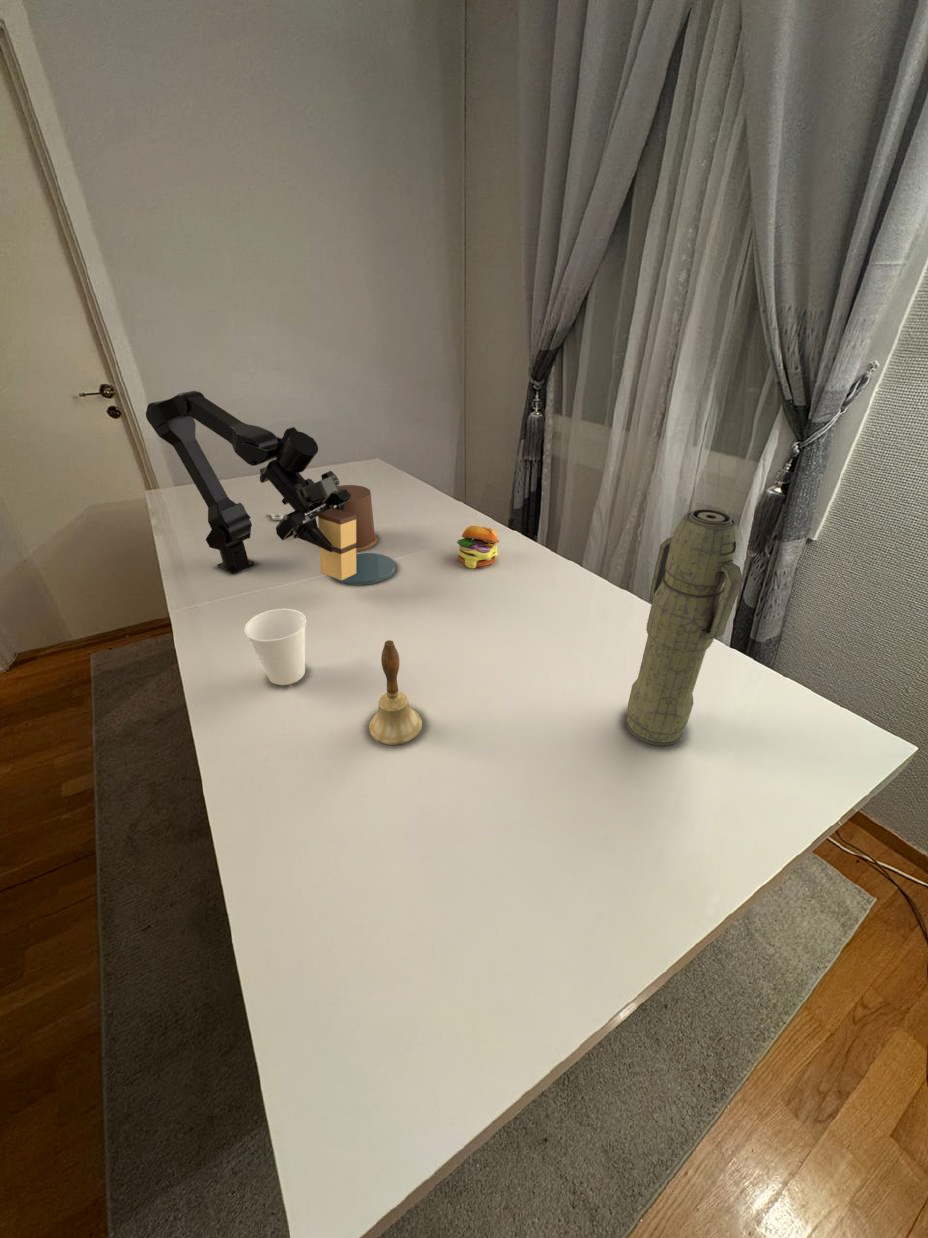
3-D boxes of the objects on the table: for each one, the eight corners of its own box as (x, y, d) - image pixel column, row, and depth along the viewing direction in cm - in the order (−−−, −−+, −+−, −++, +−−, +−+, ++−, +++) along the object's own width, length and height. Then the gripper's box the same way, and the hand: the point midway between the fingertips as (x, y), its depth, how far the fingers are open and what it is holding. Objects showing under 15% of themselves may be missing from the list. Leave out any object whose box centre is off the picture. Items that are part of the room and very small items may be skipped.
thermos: (667, 762, 76) (736, 541, 57) (606, 715, 84) (648, 508, 65) (703, 737, 80) (779, 523, 61) (642, 695, 88) (692, 495, 69)
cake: (313, 543, 139) (305, 495, 132) (351, 526, 148) (346, 480, 141) (350, 557, 132) (343, 506, 125) (387, 538, 142) (383, 491, 134)
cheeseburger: (449, 565, 128) (452, 525, 124) (465, 558, 137) (468, 520, 134) (488, 572, 125) (492, 531, 121) (501, 564, 134) (505, 525, 131)
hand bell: (374, 707, 85) (364, 626, 77) (424, 708, 85) (420, 627, 76) (364, 744, 78) (352, 660, 70) (419, 746, 78) (414, 662, 69)
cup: (263, 700, 86) (248, 647, 80) (253, 668, 94) (239, 616, 88) (322, 683, 90) (312, 631, 84) (308, 653, 98) (299, 603, 92)
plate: (319, 573, 125) (318, 569, 124) (364, 551, 135) (363, 547, 134) (364, 591, 117) (363, 587, 117) (407, 567, 128) (407, 563, 127)
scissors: (304, 507, 159) (317, 531, 143) (305, 510, 159) (317, 533, 144) (268, 512, 155) (277, 537, 140) (269, 515, 156) (277, 540, 140)
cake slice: (320, 572, 112) (317, 512, 106) (335, 565, 116) (334, 507, 110) (341, 580, 110) (340, 520, 103) (356, 573, 114) (356, 514, 107)
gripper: (275, 474, 94) (332, 541, 96) (339, 450, 109) (387, 509, 111) (252, 508, 102) (306, 570, 104) (314, 481, 116) (360, 536, 118)
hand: (342, 545), depth 109 cm, fingers closed on cake slice, 6 cm apart
